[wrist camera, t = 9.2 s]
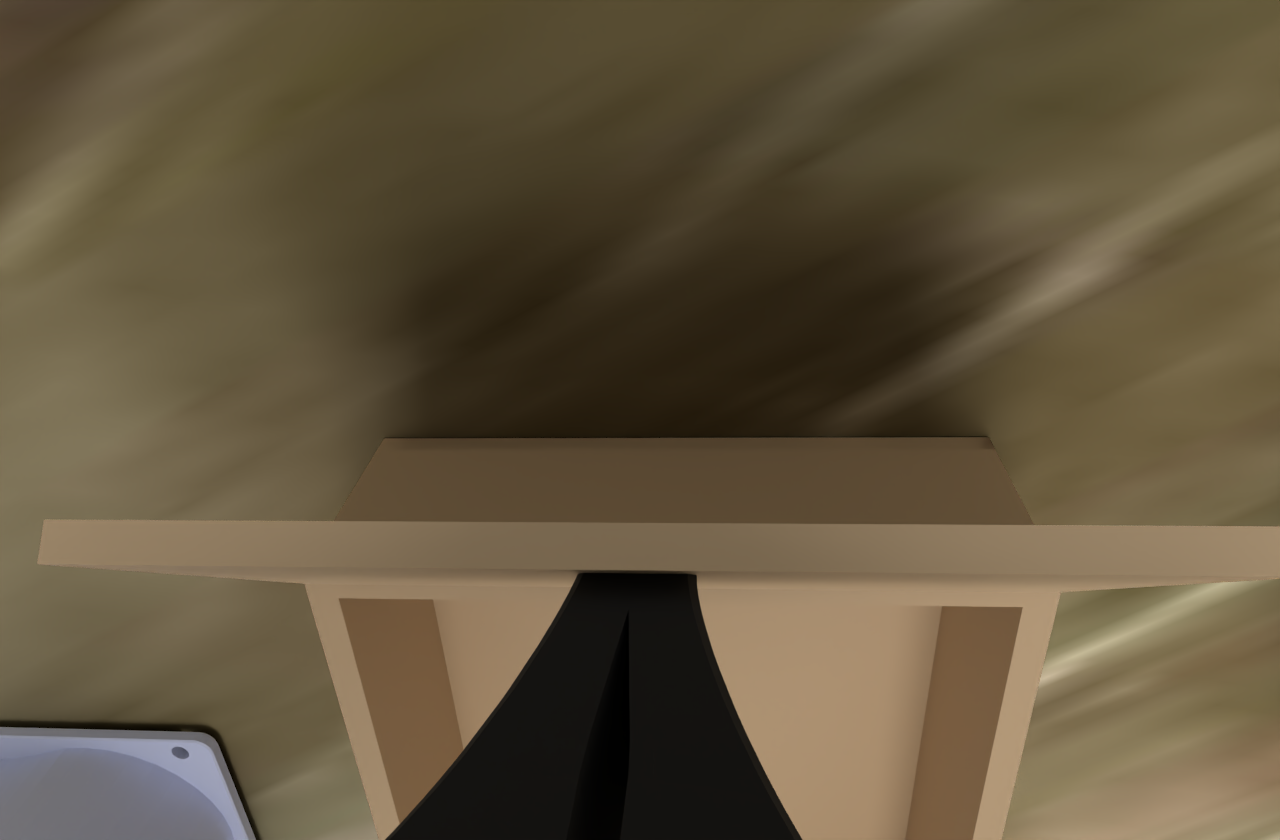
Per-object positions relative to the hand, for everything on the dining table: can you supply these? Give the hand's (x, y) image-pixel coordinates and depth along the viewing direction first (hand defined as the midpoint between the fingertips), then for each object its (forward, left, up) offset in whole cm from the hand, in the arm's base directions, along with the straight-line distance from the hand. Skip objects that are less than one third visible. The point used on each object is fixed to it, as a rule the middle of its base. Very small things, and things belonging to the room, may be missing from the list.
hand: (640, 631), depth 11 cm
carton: (0, -12, -10) cm, 16 cm away
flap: (0, -1, -2) cm, 2 cm away
